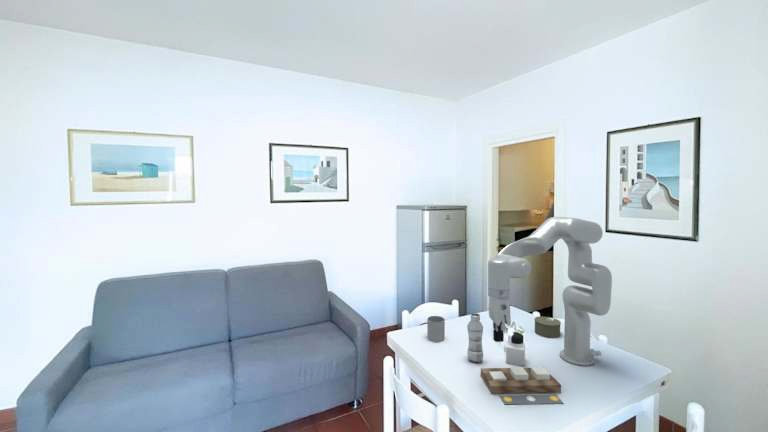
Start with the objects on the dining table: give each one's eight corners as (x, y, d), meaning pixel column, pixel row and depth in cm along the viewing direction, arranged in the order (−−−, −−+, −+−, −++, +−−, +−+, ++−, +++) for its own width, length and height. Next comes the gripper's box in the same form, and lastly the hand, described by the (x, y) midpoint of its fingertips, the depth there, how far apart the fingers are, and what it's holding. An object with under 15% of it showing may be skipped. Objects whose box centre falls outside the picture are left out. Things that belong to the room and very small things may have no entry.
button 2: (543, 374, 122) (543, 367, 122) (549, 382, 117) (550, 374, 117) (530, 375, 122) (530, 367, 122) (536, 382, 117) (537, 374, 117)
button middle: (522, 375, 122) (522, 367, 122) (528, 382, 117) (528, 374, 117) (509, 375, 122) (510, 367, 122) (515, 382, 117) (515, 374, 117)
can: (529, 332, 165) (529, 319, 165) (541, 327, 172) (541, 314, 172) (553, 341, 156) (553, 327, 155) (564, 334, 163) (565, 321, 162)
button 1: (501, 378, 122) (501, 371, 122) (506, 386, 117) (506, 378, 117) (489, 379, 122) (489, 371, 122) (493, 386, 117) (493, 378, 117)
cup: (447, 337, 160) (447, 318, 160) (440, 343, 153) (440, 323, 153) (431, 333, 165) (431, 314, 164) (424, 339, 158) (424, 320, 157)
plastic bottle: (484, 364, 134) (484, 318, 133) (467, 363, 135) (467, 316, 134) (482, 357, 140) (482, 312, 139) (466, 356, 141) (466, 311, 140)
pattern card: (555, 395, 113) (555, 393, 113) (563, 403, 108) (563, 402, 108) (499, 396, 112) (499, 394, 112) (504, 404, 108) (504, 403, 108)
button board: (543, 374, 126) (543, 367, 126) (561, 393, 114) (561, 385, 114) (480, 375, 125) (480, 368, 125) (491, 394, 113) (491, 386, 113)
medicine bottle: (524, 358, 138) (525, 331, 138) (524, 366, 132) (524, 338, 131) (507, 355, 141) (507, 329, 141) (505, 363, 135) (506, 335, 134)
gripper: (517, 298, 110) (517, 350, 111) (501, 286, 125) (500, 332, 126) (495, 298, 110) (495, 350, 111) (481, 286, 125) (481, 332, 126)
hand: (498, 340), depth 119 cm, fingers closed
